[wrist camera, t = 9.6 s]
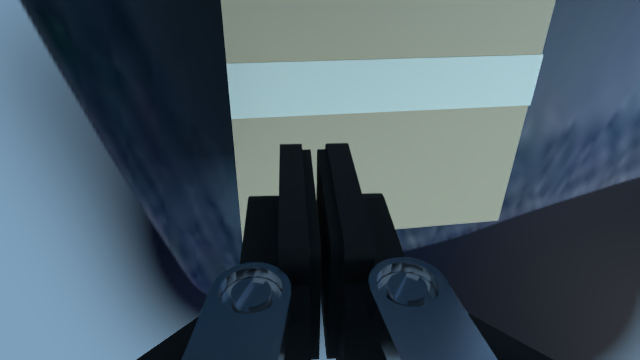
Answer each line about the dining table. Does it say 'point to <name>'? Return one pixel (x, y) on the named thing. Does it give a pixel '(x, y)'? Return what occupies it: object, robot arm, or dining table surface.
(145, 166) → the dining table surface
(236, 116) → the lid
